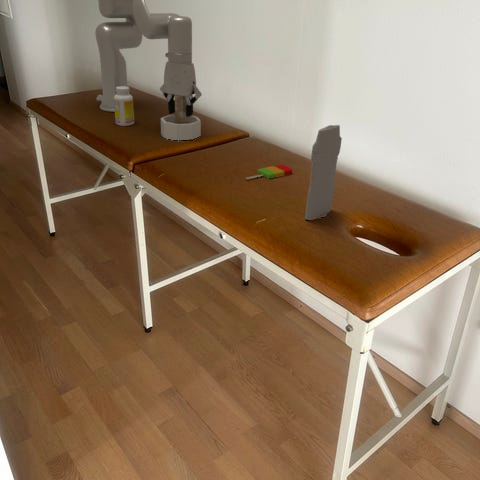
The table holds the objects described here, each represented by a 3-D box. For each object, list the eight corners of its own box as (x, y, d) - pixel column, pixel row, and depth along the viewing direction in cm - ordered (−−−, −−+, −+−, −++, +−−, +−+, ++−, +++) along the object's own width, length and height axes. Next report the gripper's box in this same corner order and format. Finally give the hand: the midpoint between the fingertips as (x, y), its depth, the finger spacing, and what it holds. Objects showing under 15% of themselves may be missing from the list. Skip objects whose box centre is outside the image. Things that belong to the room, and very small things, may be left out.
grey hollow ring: (155, 137, 173) (154, 120, 171) (174, 128, 184) (174, 112, 181) (187, 143, 169) (187, 126, 166) (205, 134, 179) (206, 118, 176)
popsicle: (293, 175, 149) (294, 169, 148) (252, 185, 141) (252, 178, 140) (281, 169, 153) (282, 163, 152) (240, 178, 145) (240, 172, 144)
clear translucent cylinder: (175, 131, 175) (174, 89, 169) (179, 129, 178) (179, 88, 171) (183, 133, 174) (182, 91, 168) (187, 131, 177) (187, 89, 170)
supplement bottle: (136, 122, 188) (134, 86, 182) (131, 127, 183) (129, 90, 176) (118, 120, 189) (116, 85, 183) (113, 125, 183) (110, 88, 177)
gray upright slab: (323, 206, 129) (335, 119, 119) (337, 211, 127) (350, 123, 116) (297, 218, 122) (307, 127, 112) (311, 224, 120) (323, 131, 109)
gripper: (150, 56, 164) (152, 113, 173) (197, 63, 158) (197, 121, 167) (163, 54, 170) (164, 108, 179) (209, 60, 164) (208, 116, 173)
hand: (180, 114), depth 173 cm, fingers open, 6 cm apart
